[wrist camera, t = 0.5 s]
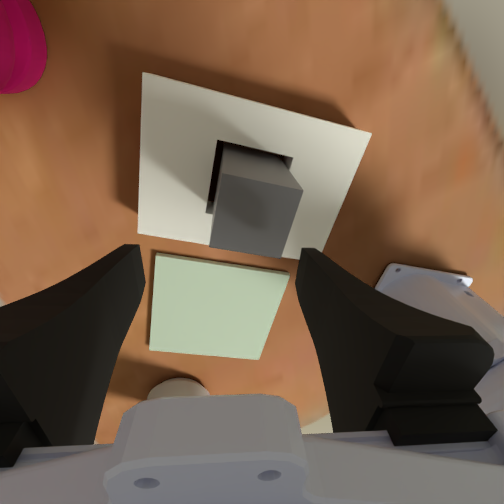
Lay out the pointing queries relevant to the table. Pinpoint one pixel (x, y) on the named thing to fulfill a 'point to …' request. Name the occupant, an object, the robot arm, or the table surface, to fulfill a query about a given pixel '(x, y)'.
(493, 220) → the table surface
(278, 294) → the mat
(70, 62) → the table surface
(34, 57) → the pepper mill
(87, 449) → the robot arm
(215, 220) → the plug
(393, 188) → the table surface
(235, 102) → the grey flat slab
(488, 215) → the table surface
